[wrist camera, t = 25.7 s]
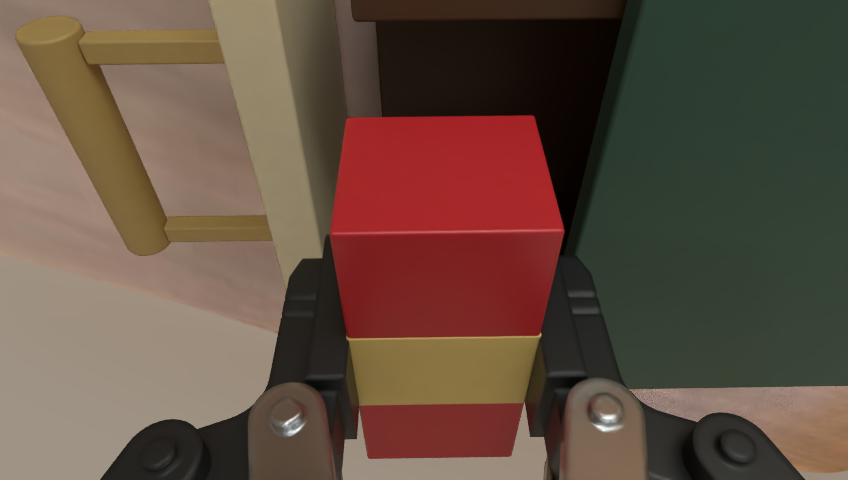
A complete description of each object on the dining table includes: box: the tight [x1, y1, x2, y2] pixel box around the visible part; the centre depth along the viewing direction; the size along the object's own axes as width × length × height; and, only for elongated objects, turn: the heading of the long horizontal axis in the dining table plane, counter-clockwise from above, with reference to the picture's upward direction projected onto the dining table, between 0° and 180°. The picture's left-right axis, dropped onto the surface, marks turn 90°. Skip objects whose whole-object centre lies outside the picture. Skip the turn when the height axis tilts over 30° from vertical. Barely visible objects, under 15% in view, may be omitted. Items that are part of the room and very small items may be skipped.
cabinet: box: [564, 0, 848, 389], centre depth 17 cm, size 15×14×9 cm
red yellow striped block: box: [329, 115, 565, 459], centre depth 12 cm, size 8×3×3 cm, turn 0°
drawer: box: [15, 0, 627, 290], centre depth 16 cm, size 19×12×7 cm, turn 90°
